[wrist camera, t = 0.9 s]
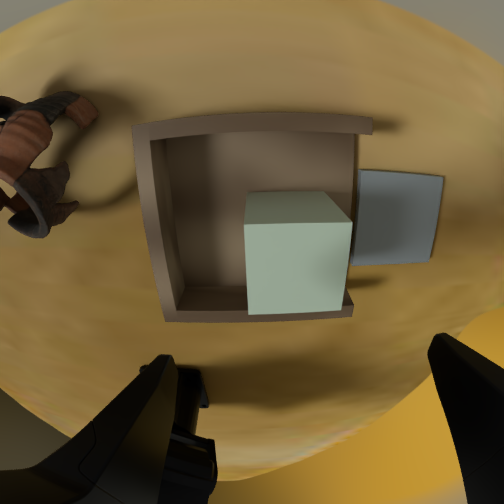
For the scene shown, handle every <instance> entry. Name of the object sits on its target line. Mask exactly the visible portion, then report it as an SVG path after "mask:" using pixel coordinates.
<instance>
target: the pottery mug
mask: <svg viewBox="0 0 504 504" xmlns="http://www.w3.org/2000/svg"><path fill="white" fill-rule="evenodd" d="M63 113H65V114H66V115H67V116H69V117H70V118H71V119H72V120H74V122H75V123H76V124H77V125H78V126H79V127H80V128H81V129H84V128H86V127H87V126H88V125H89V124H90V123H91V121H92V120H94V119H95V118H96V117H98V111H97V110H96V109H95V107H94V106H93V105H92V104H91V103H90V102H89V101H87V100H86V99H84V98H83V97H81V96H80V95H78V94H76V93H72V92H68V91H67V92H66V91H63V92H58V93H55V94H53V95H51V96H48V97H45V98H41V99H37V100H35V101H33V102H28V103H26V104H24V103H21V102H19V101H17V100H15V99H12V98H10V97H6V96H0V118H3V119H5V120H6V121H1V122H0V179H2V180H4V181H5V182H7V183H8V184H9V185H10V186H13V187H14V188H15V190H16V191H17V192H16V194H15V195H14V196H13V197H12V198H11V199H10V198H9V197H8V196H7V195H6V193H5V192H4V191H3V190H2V189H1V187H0V211H1V210H2V209H3V207H4V206H5V207H7V208H8V209H9V210H10V211H11V212H13V213H14V214H15V215H13V216H12V217H11V218H10V219H9V220H8V224H9V225H10V226H11V227H13V228H14V229H15V230H17V231H19V232H20V233H22V234H24V235H26V236H29V237H32V238H44V237H46V236H47V235H48V234H49V232H50V229H51V227H52V226H55V225H58V224H61V223H63V222H64V221H65V220H66V218H67V217H68V216H69V215H70V214H71V213H72V212H73V211H74V210H75V209H76V207H77V206H78V205H79V202H78V201H73V202H70V203H57V202H58V201H60V200H61V198H62V196H63V194H64V190H65V185H66V183H67V181H68V180H69V177H70V172H69V168H68V164H67V163H66V161H62V162H61V163H59V164H58V165H56V166H55V167H54V168H51V167H49V168H43V169H36V168H30V166H31V164H32V163H33V161H34V160H35V159H36V158H37V156H38V155H39V154H40V153H41V152H42V151H44V150H45V149H46V148H47V147H48V146H49V144H50V141H51V139H52V135H53V132H52V129H51V127H50V125H51V124H52V123H53V122H54V121H55V119H56V118H57V117H58V116H59V115H61V114H63Z"/></svg>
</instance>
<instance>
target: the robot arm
mask: <svg viewBox="0 0 504 504" xmlns="http://www.w3.org/2000/svg"><path fill="white" fill-rule="evenodd" d="M427 355H428V360H429V363H430V367H431V370H432V374H433V378H434V382H435V385H436V389H437V392H438V395H439V398H440V401H441V404H442V407H443V409H444V413H445V416H446V418H447V422H448V425H449V428H450V432H451V435H452V438H453V442H454V445H455V449H456V453H457V456H458V460H459V464H460V468H461V473H462V477H463V482H464V487H465V492H466V497H467V503H468V504H504V369H503V368H501V367H500V366H498V365H497V364H495V363H494V362H492V361H490V360H489V359H487V358H486V357H484V356H482V355H481V354H479V353H478V352H476V351H474V350H473V349H471V348H469V347H468V346H466V345H465V344H463V343H461V342H460V341H458V340H457V339H455V338H453V337H452V336H450V335H448V334H447V333H439V334H436V335H435V336H434V337H433V340H432V342H431V344H430V347H429V349H428V354H427ZM139 372H140V374H139V375H138V376H137V377H136V378H135V379H134V380H133V381H132V382H131V383H130V384H129V385H128V386H127V387H125V388H124V389H123V390H122V391H121V392H120V393H119V394H118V395H117V396H116V397H115V398H114V399H113V400H112V401H111V402H110V403H109V404H108V405H107V406H106V407H105V408H104V409H103V410H102V411H101V412H100V413H99V414H98V415H97V416H96V417H95V418H94V419H93V421H90V422H89V423H88V424H87V425H86V426H85V427H84V428H83V429H82V430H81V431H80V432H79V433H77V434H76V435H75V436H74V437H73V438H72V439H70V440H69V441H68V442H67V443H65V444H64V445H63V446H61V447H60V448H59V449H57V450H56V451H55V452H54V453H52V454H51V455H49V456H48V457H47V458H45V459H44V460H43V461H41V462H40V463H38V464H37V465H34V466H32V467H29V468H25V469H16V470H2V471H0V504H208V498H209V495H210V494H211V493H212V492H213V490H214V488H215V485H216V482H217V476H218V470H217V461H216V451H215V442H214V440H213V439H206V438H203V437H199V436H196V435H195V433H196V426H197V420H198V413H199V408H208V407H209V401H208V398H207V394H206V390H205V386H204V382H203V378H202V374H201V372H200V371H199V370H192V369H177V368H176V365H175V362H174V359H173V357H172V355H165V354H160V355H158V356H157V357H156V358H155V359H154V360H153V361H152V362H151V363H150V364H149V365H148V366H141V367H140V370H139Z"/></svg>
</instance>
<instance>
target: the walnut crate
mask: <svg viewBox="0 0 504 504" xmlns="http://www.w3.org/2000/svg"><path fill="white" fill-rule="evenodd" d="M354 134H365V135H372V117H363V116H352V115H340V114H325V113H299V112H261V113H235V114H219V115H207V116H197V117H187V118H179V119H171V120H164V121H157V122H151V123H144V124H139V125H133V126H132V135H133V146H134V156H135V165H136V173H137V181H138V188H139V196H140V202H141V209H142V215H143V221H144V227H145V232H146V238H147V243H148V248H149V253H150V258H151V263H152V268H153V273H154V277H155V282H156V286H157V290H158V294H159V299H160V303H161V307H162V311H163V315H164V318H165V322H209V323H222V322H272V321H296V320H314V319H329V318H342V317H352V313H353V308H354V304H353V302H352V300H351V298H350V295H349V293H348V291H347V289H346V287H345V289H344V295H343V301H342V307H341V310H337V311H322V312H305V313H284V314H254V315H248V297H247V278H246V258H245V239H244V217H245V207H246V197H247V192H281V191H324V192H325V193H326V194H327V195H328V196H329V197H330V198H331V199H332V201H333V202H334V203H335V204H336V205H337V206H338V207H339V208H340V209H341V210H342V211H343V212H344V214H345V215H346V216H347V217H348V218H349V219H350V216H351V203H352V188H353V169H354Z"/></svg>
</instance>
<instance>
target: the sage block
mask: <svg viewBox="0 0 504 504" xmlns="http://www.w3.org/2000/svg"><path fill="white" fill-rule="evenodd" d="M352 223H353V222H352V221H351V220H350V219H349V218H348V217H347V216H346V215H345V214H344V212H343V211H342V210H341V209H340V208H339V207H338V206H337V205H336V204H335V203H334V202H333V201H332V199H331V198H330V197H329V196H328V195H327V194H326V193H325V192H324V191H281V192H247V197H246V207H245V217H244V239H245V258H246V278H247V297H248V315H254V314H284V313H305V312H322V311H337V310H341V307H342V301H343V295H344V289H345V282H346V275H347V267H348V260H349V251H350V243H351V233H352Z"/></svg>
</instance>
